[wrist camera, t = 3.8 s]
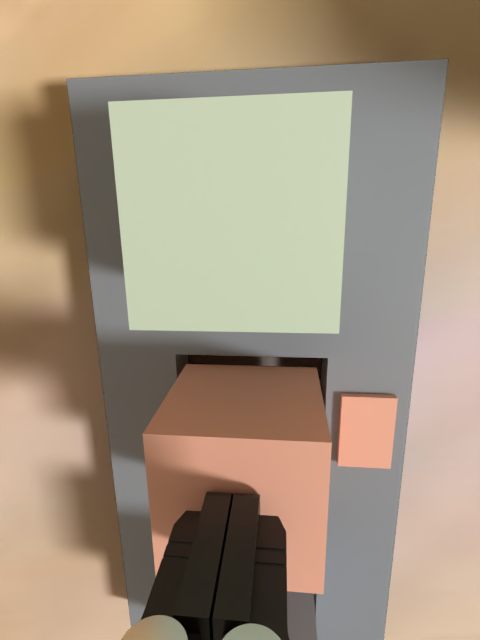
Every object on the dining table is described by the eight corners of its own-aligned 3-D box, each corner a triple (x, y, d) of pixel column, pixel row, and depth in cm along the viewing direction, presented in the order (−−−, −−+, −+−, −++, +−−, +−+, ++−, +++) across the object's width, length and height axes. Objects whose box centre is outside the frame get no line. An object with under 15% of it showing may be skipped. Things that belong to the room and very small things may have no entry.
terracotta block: (186, 363, 16) (142, 434, 11) (316, 367, 15) (331, 442, 10) (192, 474, 17) (155, 579, 12) (311, 481, 16) (323, 594, 12)
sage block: (172, 139, 13) (108, 101, 8) (326, 134, 13) (352, 91, 8) (180, 289, 14) (129, 329, 10) (320, 290, 14) (339, 333, 9)
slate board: (94, 94, 15) (61, 75, 13) (425, 79, 14) (452, 55, 12) (146, 604, 22) (130, 648, 20) (371, 625, 21) (382, 675, 18)
